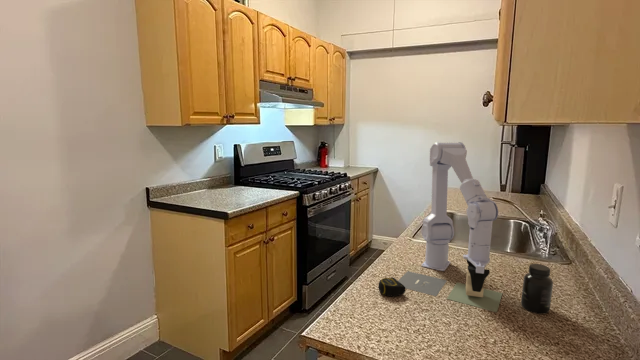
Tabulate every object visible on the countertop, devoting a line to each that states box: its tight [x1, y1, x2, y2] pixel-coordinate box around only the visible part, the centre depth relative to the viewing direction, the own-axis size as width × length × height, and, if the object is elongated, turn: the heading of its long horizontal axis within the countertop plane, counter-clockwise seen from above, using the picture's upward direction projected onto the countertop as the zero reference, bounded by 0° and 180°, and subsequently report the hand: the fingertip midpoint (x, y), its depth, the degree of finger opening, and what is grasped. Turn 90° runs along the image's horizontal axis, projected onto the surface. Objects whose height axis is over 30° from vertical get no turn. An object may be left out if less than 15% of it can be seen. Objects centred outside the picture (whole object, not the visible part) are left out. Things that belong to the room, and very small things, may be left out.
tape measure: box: [378, 276, 407, 297], centre depth 106 cm, size 7×7×4 cm
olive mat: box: [446, 281, 503, 313], centre depth 104 cm, size 13×13×1 cm
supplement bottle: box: [520, 263, 554, 315], centre depth 97 cm, size 7×7×12 cm
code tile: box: [397, 270, 447, 297], centre depth 113 cm, size 13×13×1 cm
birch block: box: [465, 269, 485, 297], centre depth 104 cm, size 4×4×6 cm
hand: (475, 287), depth 104 cm, fingers closed on birch block, 4 cm apart
